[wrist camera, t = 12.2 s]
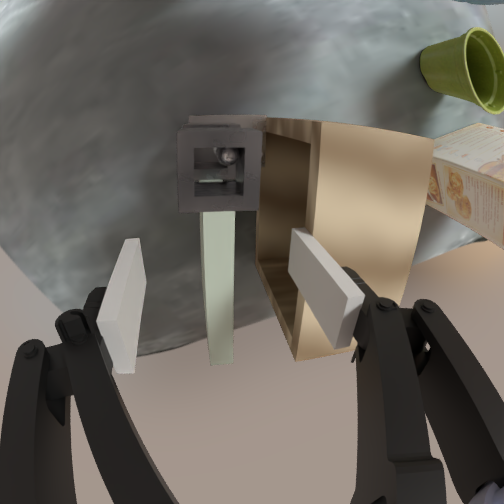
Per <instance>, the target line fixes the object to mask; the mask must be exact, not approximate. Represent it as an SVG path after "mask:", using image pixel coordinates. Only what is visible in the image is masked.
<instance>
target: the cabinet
mask: <svg viewBox="0 0 504 504" xmlns="http://www.w3.org/2000/svg"><path fill="white" fill-rule="evenodd" d="M189 123H236V124H240V128H253V129H256V130H259V131H262V132H263V136H262V156H261V175H260V194H259V211H257V216H256V256H255V265H256V268H257V270H258V273H259V275H260V278H261V280H262V282H263V285H264V287H265V290H266V292H267V294H268V297H269V299H270V302H271V304H272V306H273V309H274V311H275V314H276V316H277V319H278V321H279V323H280V326H281V328H282V331H283V333H284V335H285V338H286V340H287V343H288V345H289V347H290V350H291V352H292V354H293V357H294V359H295V361H296V362H297V361H302V360H309V359H314V358H319V357H325V356H330V355H335V354H339V353H344V352H349V351H353V350H355V349H356V346H357V341H356V340H355V338H354V337H353V338H352V341H351V344H350V346H349V347H345V348H340V349H336V350H334V349H333V347H332V345H331V343H330V342H329V340H328V338H327V336H326V335H325V333H324V331H323V330H322V328H321V326H320V324H319V323H318V321H317V319H316V318H315V316H314V314H313V313H312V311H311V309H310V307H309V306H308V304H307V302H306V301H305V299H304V297H303V296H302V294H301V292H300V291H299V289H298V287H297V286H296V284H295V282H294V281H293V279H292V277H291V275H290V274H289V272H288V266H289V255H290V244H291V233H292V228H303V227H305V228H306V229H307V230H308V231H309V232H310V234H311V235H312V236H313V237H314V238H315V239H316V240H317V241H318V242H319V243H320V244H321V246H322V247H323V248H324V249H325V250H326V251H327V252H328V253H329V254H330V256H331V257H332V258H333V259H334V260H335V261H336V262H337V263H338V265H339V266H340V267H345V266H347V267H349V268H351V269H352V270H354V271H355V272H356V273H357V274H358V275H359V276H360V277H361V278H362V279H363V280H364V281H365V283H366V284H367V285H368V286H369V287H370V288H371V289H372V290H373V291H374V292H375V293H376V295H377V296H378V297H385V298H389V299H391V300H393V301H394V302H396V303H397V304H398V306H399V305H400V302H401V299H402V296H403V292H404V289H405V286H406V282H407V279H408V276H409V272H410V268H411V265H412V261H413V257H414V254H415V250H416V245H417V241H418V237H419V233H420V228H421V224H422V219H423V214H424V209H425V204H426V198H427V192H428V186H429V180H430V173H431V166H432V159H433V150H434V141H435V140H434V139H430V138H425V137H421V136H416V135H412V134H407V133H402V132H396V131H391V130H385V129H380V128H374V127H367V126H360V125H353V124H346V123H338V122H328V121H318V120H305V119H290V118H268V117H267V115H198V116H189ZM239 157H240V152H239V150H238V148H237V147H217V148H194V162H220V163H221V164H223V165H225V166H232V165H234V164H235V163H237V161H238V160H239Z"/></svg>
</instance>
